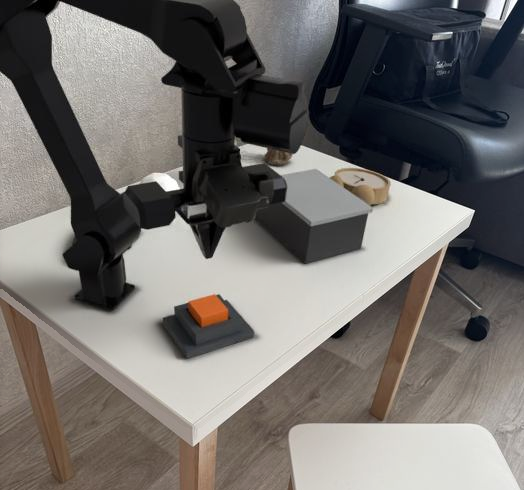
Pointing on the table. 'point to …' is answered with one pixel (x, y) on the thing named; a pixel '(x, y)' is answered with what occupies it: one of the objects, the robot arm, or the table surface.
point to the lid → (320, 198)
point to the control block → (206, 331)
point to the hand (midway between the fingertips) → (207, 257)
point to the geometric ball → (161, 181)
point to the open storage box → (312, 233)
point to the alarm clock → (363, 184)
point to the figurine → (277, 157)
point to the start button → (208, 310)
